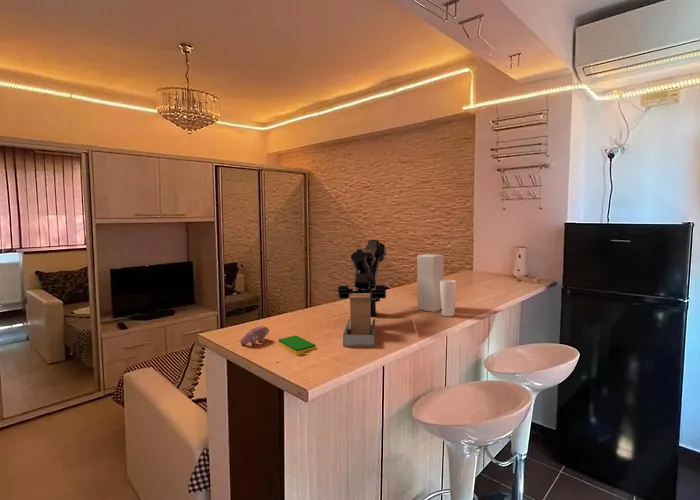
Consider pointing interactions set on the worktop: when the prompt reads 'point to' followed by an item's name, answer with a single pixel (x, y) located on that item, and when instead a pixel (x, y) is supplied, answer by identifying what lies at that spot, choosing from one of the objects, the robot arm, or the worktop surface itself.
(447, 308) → the drinking glass
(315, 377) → the worktop surface
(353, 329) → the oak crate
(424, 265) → the tall white carton
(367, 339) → the metal bay
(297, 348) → the dish sponge
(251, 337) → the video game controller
